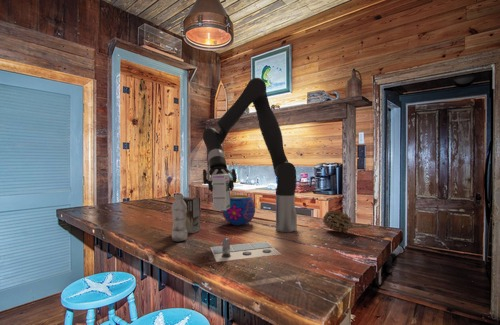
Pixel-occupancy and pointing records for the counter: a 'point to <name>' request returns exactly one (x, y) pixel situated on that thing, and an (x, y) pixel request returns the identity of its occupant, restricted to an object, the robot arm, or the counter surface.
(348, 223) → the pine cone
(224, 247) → the peg
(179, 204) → the plastic bottle
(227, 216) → the ceramic pot
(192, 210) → the coffee box
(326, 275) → the counter surface
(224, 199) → the syrup box
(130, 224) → the counter surface
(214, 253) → the board
